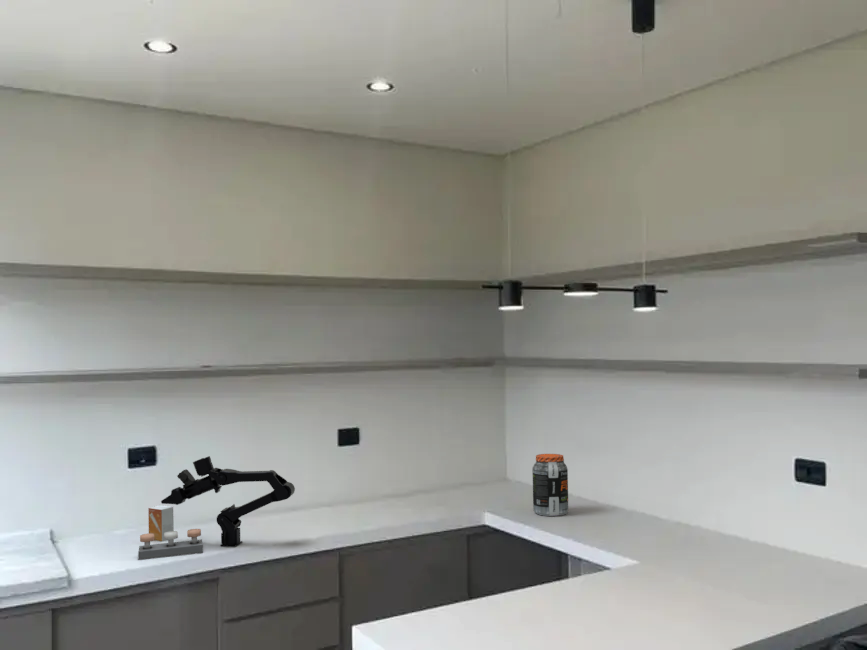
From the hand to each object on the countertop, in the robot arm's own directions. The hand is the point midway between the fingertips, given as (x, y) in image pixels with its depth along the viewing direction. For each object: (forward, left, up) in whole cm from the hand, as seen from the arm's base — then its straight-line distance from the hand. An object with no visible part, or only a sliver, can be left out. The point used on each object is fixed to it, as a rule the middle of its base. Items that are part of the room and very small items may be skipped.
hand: (166, 500), depth 301 cm
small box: (+8, -10, -18) cm, 22 cm away
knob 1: (0, +15, -15) cm, 21 cm away
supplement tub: (-149, -69, -18) cm, 165 cm away
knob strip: (-8, +10, -18) cm, 22 cm away
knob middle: (-8, +10, -15) cm, 20 cm away
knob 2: (-15, +6, -15) cm, 22 cm away
